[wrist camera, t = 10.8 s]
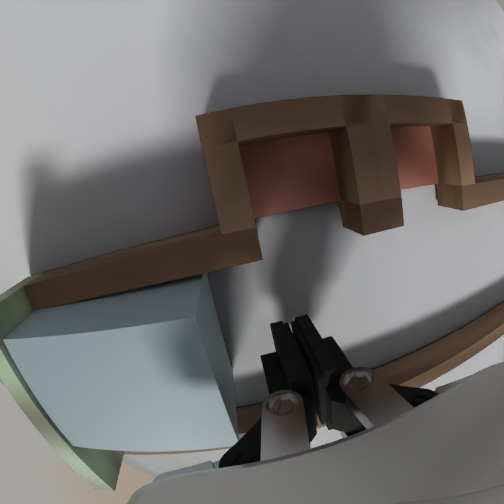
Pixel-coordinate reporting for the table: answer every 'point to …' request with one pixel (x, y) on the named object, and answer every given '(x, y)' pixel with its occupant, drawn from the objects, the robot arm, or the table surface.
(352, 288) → the table surface
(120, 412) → the slate block
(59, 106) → the table surface
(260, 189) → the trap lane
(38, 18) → the table surface
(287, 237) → the table surface
